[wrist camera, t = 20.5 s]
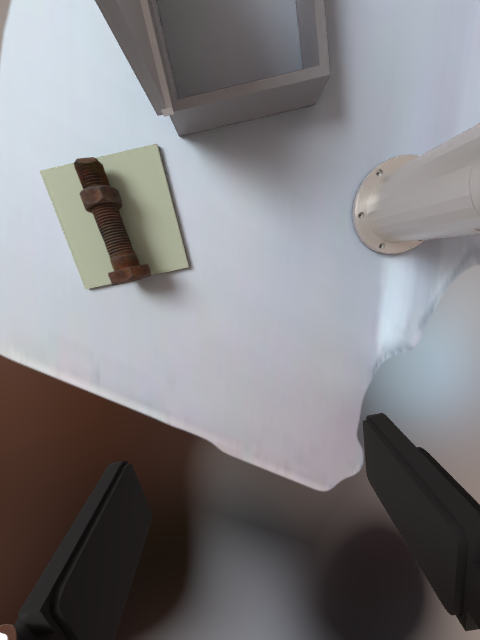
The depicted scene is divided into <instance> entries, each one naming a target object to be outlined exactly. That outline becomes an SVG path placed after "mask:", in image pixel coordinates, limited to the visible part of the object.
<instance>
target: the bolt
mask: <svg viewBox="0 0 480 640" xmlns="http://www.w3.org/2000/svg"><path fill="white" fill-rule="evenodd" d="M74 167H75V170H76V172H77V175H78V178H79V181H80V183H81V185H82V187H83V190H82V191H81V192H80V193H79V194H80V197H81V200H82V202H83V205H84V207H85V210H86V211H87V212H89V213H93V215H94V218H95V221H96V223H97V226H98V229H99V231H100V234H101V236H102V237H103V238H102V239H103V240H104V242H105V243H104V244H105V247H106V249H107V250H108V251H107V252H108V254H109V255H110V256H109V257H110V262H111V264H112V267H113V270H114V271H113V272H109V273H108V276H109V279H110V281H111V283H112V285H118V284H123V283H127V282H131V281H135V280H139V279H142V278H145V277H148V276H150V275H151V271H150V268H149V266H148V264H143V265H140V263H139V261H138V258H137V255H136V254H135V252H134V250H133V247H132V245H131V242H130V240H129V239H130V238H129V237H128V236H129V235H128V233H127V232H126V231H127V230H126V227H124V226H125V225H124V222H123V219H122V217H121V214H120V211H119V209H120V208H121V207H122V199H121V196H120V194H119V191H118V190H117V189H115V188H114V187H111V186H110V184H109V181H108V178H107V176H106V173H105V170H104V167H103V164H101V162H99V161H98V159H96V158H94V157H91V158H80V159H77V160H76V161H75V162H74Z"/></svg>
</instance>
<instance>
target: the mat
mask: <svg viewBox="0 0 480 640" xmlns="http://www.w3.org/2000/svg"><path fill="white" fill-rule="evenodd" d="M96 159H98V161H99V162H101V164H103V167H104V170H105V173H106V176H107V178H108V181H109V184H110V186H111V187H114V188H115V189H117V190H118V191H119V194H120V196H121V199H122V207H121V208H120V209H119V211H120V214H121V217H122V219H123V222H124V225H125V226H124V227H126V230H127V231H126V232H127V233H128V235H129V236H128V237H129V238H130V239H129V240H130V242H131V245H132V247H133V250H134V252H135V254H136V255H137V258H138V261H139V263H140V265H143V264H148V266H149V268H150V271H151V275H155V274H160V273H164V272H169V271H174V270H178V269H183V268H188V267H189V263H188V259H187V256H186V252H185V248H184V244H183V240H182V236H181V232H180V229H179V225H178V221H177V217H176V213H175V209H174V205H173V202H172V198H171V194H170V190H169V186H168V182H167V178H166V174H165V171H164V167H163V163H162V159H161V155H160V151H159V147H158V145H157V144H153V145H149V146H145V147H140V148H136V149H132V150H127V151H123V152H119V153H115V154H110V155H106V156H102V157H97V158H96ZM40 173H41V176H42V178H43V181H44V183H45V186H46V188H47V191H48V194H49V196H50V199H51V201H52V204H53V207H54V209H55V212H56V214H57V217H58V219H59V222H60V225H61V227H62V230H63V232H64V235H65V237H66V240H67V243H68V245H69V248H70V250H71V253H72V256H73V258H74V261H75V263H76V266H77V268H78V271H79V274H80V276H81V279H82V281H83V284H84V287H85V289H89V288H94V287H99V286H103V285H108V284H112V283H111V281H110V279H109V276H108V273H109V272H113V271H114V270H113V267H112V264H111V262H110V257H109V256H110V255H109V254H108V252H107V251H108V250H107V249H106V247H105V244H104V243H105V242H104V240H103V239H102V238H103V237H102V236H101V234H100V231H99V229H98V226H97V223H96V221H95V218H94V215H93V213H89V212H87V211H86V210H85V207H84V205H83V202H82V200H81V197H80V194H79V193H80V192H81V191H82V190H83V187H82V185H81V183H80V181H79V178H78V175H77V172H76V170H75V167H74V163H72V164H68V165H63V166H59V167H55V168H50V169H46V170H42V171H40Z"/></svg>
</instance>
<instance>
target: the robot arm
mask: <svg viewBox="0 0 480 640" xmlns="http://www.w3.org/2000/svg"><path fill="white" fill-rule="evenodd" d="M376 174H377V175H376ZM352 214H353V224H354V228H355V231H356V233H357V235H358V237H359V238H360V240H361V241H362V242H363V243H364V244H365V245H366V246H367V247H368V248H370V249H372V250H373V251H376V252H379V253H385V254H397V253H402V252H406V251H408V250H411V249H413V248H415V247H417V246H418V245H420V244H421V243H422V242H424V241H425V240H427V239H438V238H449V237H459V236H470V235H480V123H479V124H477V125H475V126H474V127H472V128H470V129H468V130H466V131H464V132H463V133H461V134H459V135H457V136H455V137H454V138H452V139H450V140H448V141H446V142H444V143H443V144H441V145H439V146H437V147H435V148H434V149H432V150H430V151H428V152H426V153H424V154H423V155H421V156H417V155H400V156H397V157H394V158H391V159H389V160H387V161H385V162H383V163H382V164H380V165H379V166H377V167H376V168H375V169H373V170H372V171H371V172H370V173H369V174H368V175H367V177H366V178H365V179H364V181H363V182H362V183H361V185H360V187H359V189H358V191H357V193H356V196H355V199H354V204H353V210H352ZM358 214H359V217H358ZM379 245H380V247H379ZM366 418H367V419H366V420H365V421H363V433H364V445H365V460H366V473H367V477H368V480H369V482H370V484H371V486H372V487H373V489H374V491H375V492H376V494H377V496H378V498H379V499H380V501H381V503H382V504H383V506H384V508H385V509H386V511H387V512H388V514H389V516H390V518H391V519H392V521H393V523H394V524H395V526H396V528H397V529H398V531H399V533H400V534H401V536H402V538H403V539H404V541H405V543H406V544H407V546H408V548H409V549H410V551H411V553H412V554H413V556H414V558H415V559H416V561H417V563H418V564H419V566H420V568H421V569H422V571H423V573H424V574H425V576H426V578H427V579H428V581H429V583H430V584H431V586H432V588H433V590H434V591H435V593H436V595H437V596H438V598H439V600H440V601H441V603H442V604H443V606H444V607H445V609H446V610H447V612H448V613H449V614H450V615H456V616H457V618H458V620H459V621H460V623H461V624H462V626H463V628H464V629H465V631H469V630H476V629H480V505H479V504H478V503H477V502H476V501H475V500H474V499H473V497H472V496H471V495H470V494H468V492H466V490H465V489H464V488H463V487H462V486H461V485H460V484H459V483H458V482H457V481H456V480H455V479H454V478H453V477H452V476H451V475H450V474H449V473H448V472H447V471H446V470H445V469H444V468H443V467H441V465H440V464H439V463H438V462H437V461H436V460H435V459H434V458H433V457H432V456H431V455H430V454H429V453H428V452H427V451H426V450H424V449H422V448H421V447H415V445H414V444H413V443H412V442H411V441H410V440H409V439H408V438H407V437H406V436H405V435H404V434H403V433H402V432H401V431H400V430H399V429H398V428H397V427H396V426H395V425H394V423H393V422H392V421H391V420H390V419H389V418H388V417H387V416H386V415H385V414H383V413H380V414H374V415H369V416H367V417H366ZM151 520H152V513H151V509H150V507H149V505H148V502H147V500H146V497H145V495H144V493H143V490H142V488H141V486H140V483H139V481H138V478H137V476H136V474H135V471H134V469H133V466H132V465H131V464H128V462H127V461H122V462H116V463H112V464H110V465H109V466H108V467H107V469H106V470H105V472H104V473H103V475H102V477H101V479H100V480H99V482H98V483H97V485H96V487H95V488H94V490H93V492H92V493H91V495H90V497H89V498H88V500H87V502H86V503H85V505H84V506H83V508H82V510H81V511H80V513H79V514H78V516H77V518H76V519H75V521H74V523H73V525H72V526H71V528H70V529H69V531H68V533H67V534H66V536H65V538H64V539H63V541H62V543H61V544H60V546H59V547H58V549H57V551H56V552H55V554H54V556H53V557H52V559H51V560H50V562H49V564H48V565H47V567H46V569H45V570H44V572H43V574H42V575H41V577H40V578H39V580H38V582H37V583H36V585H35V587H34V588H33V590H32V592H31V593H30V595H29V597H28V598H27V600H26V602H25V603H24V605H23V606H22V608H21V610H20V611H19V613H18V615H19V618H18V619H17V621H16V622H15V624H14V626H12V625H11V624H6V625H5V624H4V625H1V626H0V640H114V638H115V634H116V631H117V628H118V625H119V622H120V619H121V616H122V613H123V609H124V606H125V603H126V600H127V597H128V593H129V591H130V587H131V584H132V581H133V578H134V575H135V571H136V568H137V565H138V562H139V559H140V556H141V553H142V550H143V546H144V543H145V540H146V537H147V534H148V530H149V527H150V524H151Z"/></svg>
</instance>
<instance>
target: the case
mask: <svg viewBox="0 0 480 640" xmlns="http://www.w3.org/2000/svg"><path fill="white" fill-rule="evenodd" d="M95 1H96V3H97V5H98V7H99V9H100V10H101V12H102V14H103V16H104V18H105V20H106V21H107V23H108V25H109V27H110V29H111V31H112V32H113V34H114V36H115V38H116V40H117V42H118V43H119V45H120V47H121V49H122V51H123V53H124V55H125V56H126V58H127V60H128V62H129V64H130V66H131V67H132V69H133V71H134V73H135V75H136V77H137V78H138V80H139V82H140V84H141V86H142V88H143V89H144V91H145V93H146V95H147V97H148V99H149V100H150V102H151V104H152V106H153V108H154V110H155V111H156V113H157V115H164V116H170V118H171V120H172V122H173V124H174V127H175V129H176V131H177V133H178V135H179V136H183V135H187V134H191V133H196V132H200V131H204V130H208V129H213V128H217V127H221V126H225V125H230V124H234V123H238V122H242V121H247V120H251V119H255V118H260V117H264V116H268V115H272V114H277V113H281V112H285V111H289V110H294V109H298V108H302V107H307V106H311V105H315V103H316V101H317V99H318V97H319V95H320V93H321V91H322V89H323V87H324V85H325V84H326V82H327V80H328V78H329V76H330V67H329V55H328V42H327V30H326V17H325V5H324V0H296V8H297V17H298V27H299V36H300V46H301V55H302V65H303V70H298V71H294V72H290V73H286V74H282V75H278V76H273V77H269V78H265V79H261V80H257V81H253V82H248V83H244V84H240V85H236V86H232V87H228V88H223V89H219V90H215V91H211V92H207V93H203V94H198V95H194V96H190V97H186V98H182V99H178V95H177V91H176V87H175V82H174V78H173V74H172V69H171V65H170V60H169V56H168V52H167V47H166V43H165V38H164V34H163V30H162V25H161V21H160V16H159V12H158V8H157V3H156V0H95Z"/></svg>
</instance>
